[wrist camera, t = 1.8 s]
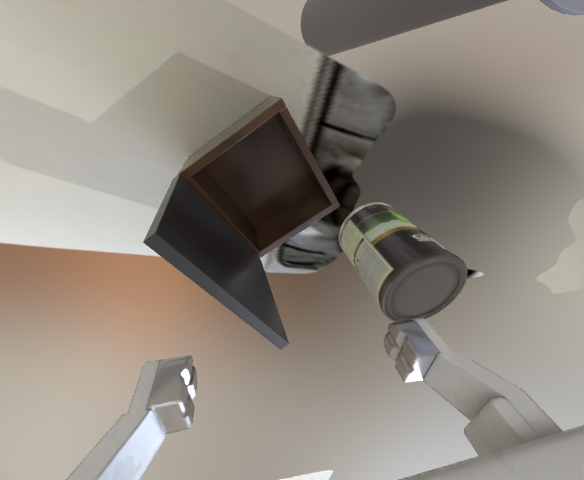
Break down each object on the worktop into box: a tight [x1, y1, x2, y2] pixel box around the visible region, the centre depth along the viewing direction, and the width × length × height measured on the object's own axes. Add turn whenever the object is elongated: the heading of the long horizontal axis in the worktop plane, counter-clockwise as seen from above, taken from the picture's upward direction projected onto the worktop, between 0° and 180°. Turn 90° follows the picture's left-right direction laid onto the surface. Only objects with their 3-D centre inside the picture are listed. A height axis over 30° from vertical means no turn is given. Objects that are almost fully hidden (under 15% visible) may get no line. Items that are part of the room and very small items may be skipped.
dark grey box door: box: [143, 174, 289, 349], centre depth 20 cm, size 12×13×1 cm
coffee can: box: [338, 202, 467, 322], centre depth 33 cm, size 10×10×14 cm
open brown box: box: [178, 96, 340, 258], centre depth 28 cm, size 12×13×7 cm
